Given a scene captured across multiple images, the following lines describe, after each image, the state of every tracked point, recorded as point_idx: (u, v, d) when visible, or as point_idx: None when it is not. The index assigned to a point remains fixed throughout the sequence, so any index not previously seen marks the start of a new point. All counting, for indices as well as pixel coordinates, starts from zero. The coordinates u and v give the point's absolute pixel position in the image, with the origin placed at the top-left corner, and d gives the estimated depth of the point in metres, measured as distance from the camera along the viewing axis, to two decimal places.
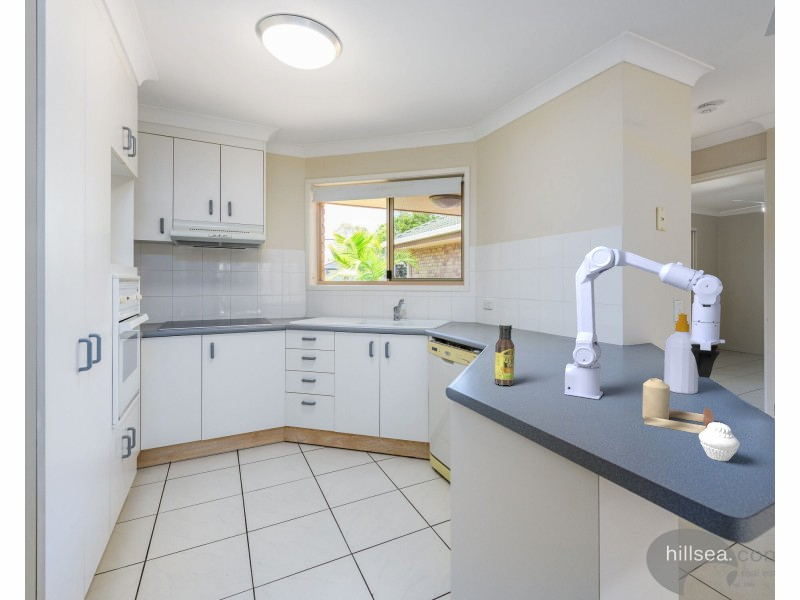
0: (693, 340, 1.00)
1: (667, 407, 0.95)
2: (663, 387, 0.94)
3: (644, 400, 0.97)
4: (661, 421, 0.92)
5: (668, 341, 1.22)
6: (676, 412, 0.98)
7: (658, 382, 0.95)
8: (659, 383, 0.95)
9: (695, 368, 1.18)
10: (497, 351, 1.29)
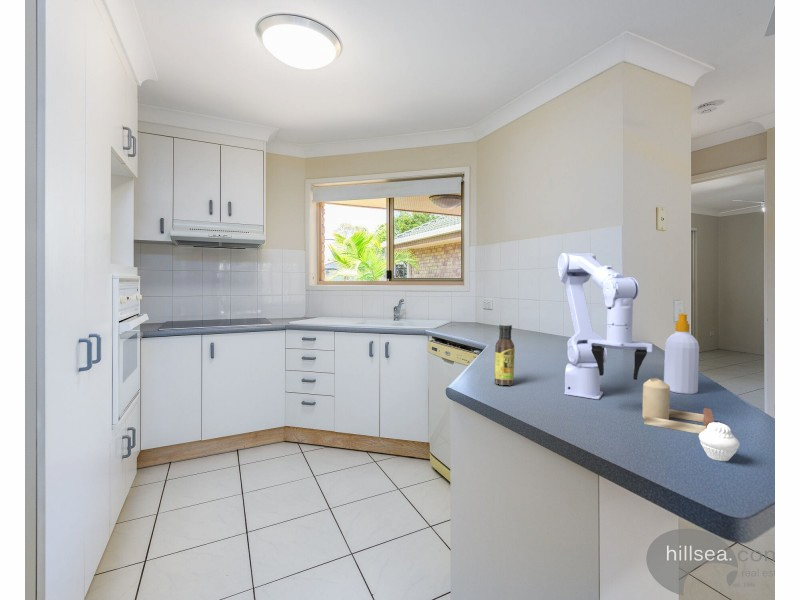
0: None
1: (667, 407, 0.95)
2: (663, 387, 0.94)
3: (644, 400, 0.97)
4: (661, 421, 0.92)
5: (668, 341, 1.22)
6: (676, 412, 0.98)
7: (658, 382, 0.95)
8: (659, 383, 0.95)
9: (695, 368, 1.18)
10: (497, 351, 1.29)
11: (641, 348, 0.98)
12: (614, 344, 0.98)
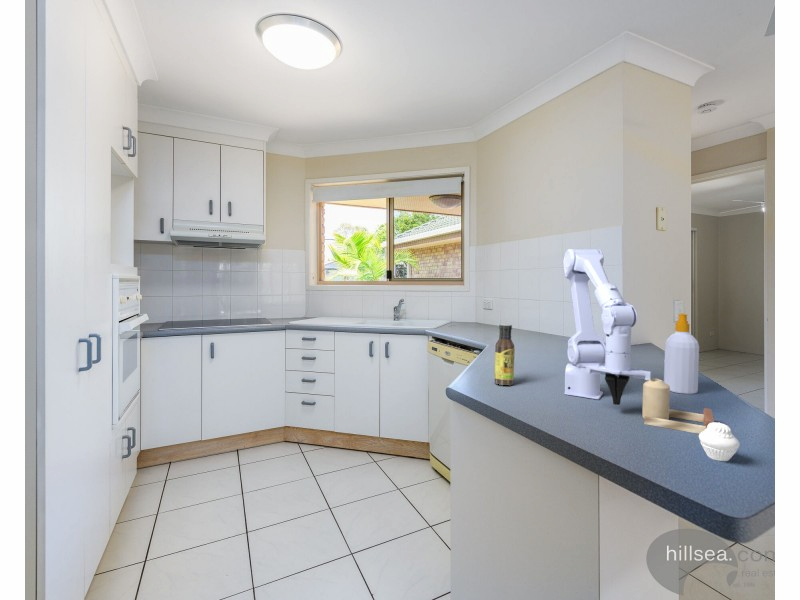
0: None
1: (667, 407, 0.95)
2: (663, 387, 0.94)
3: (644, 400, 0.97)
4: (661, 421, 0.92)
5: (668, 341, 1.22)
6: (676, 412, 0.98)
7: (658, 382, 0.95)
8: (659, 383, 0.95)
9: (695, 368, 1.18)
10: (497, 351, 1.29)
11: (639, 376, 0.98)
12: (612, 372, 0.99)
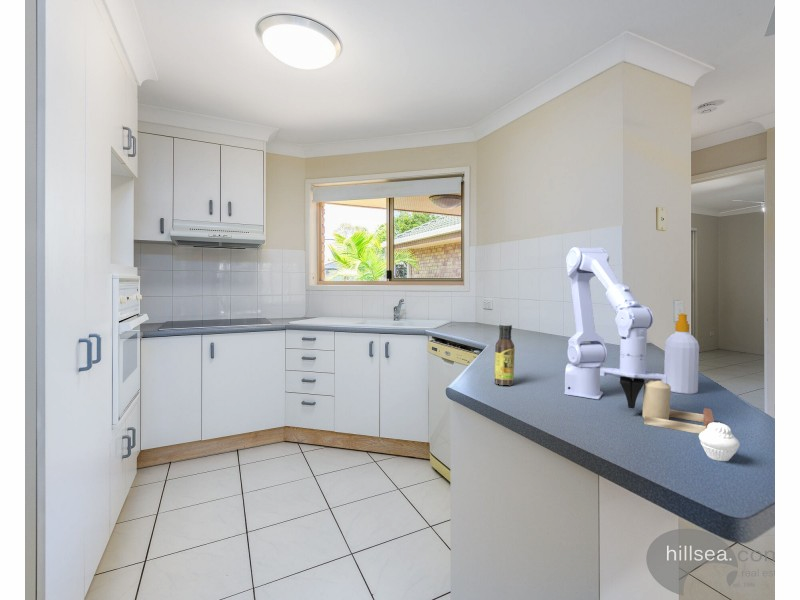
0: None
1: (667, 407, 0.95)
2: (664, 387, 0.94)
3: (645, 400, 0.97)
4: (661, 421, 0.92)
5: (668, 341, 1.22)
6: (676, 412, 0.98)
7: (659, 382, 0.95)
8: (660, 383, 0.95)
9: (695, 368, 1.18)
10: (497, 351, 1.29)
11: (655, 379, 0.96)
12: (628, 375, 0.97)
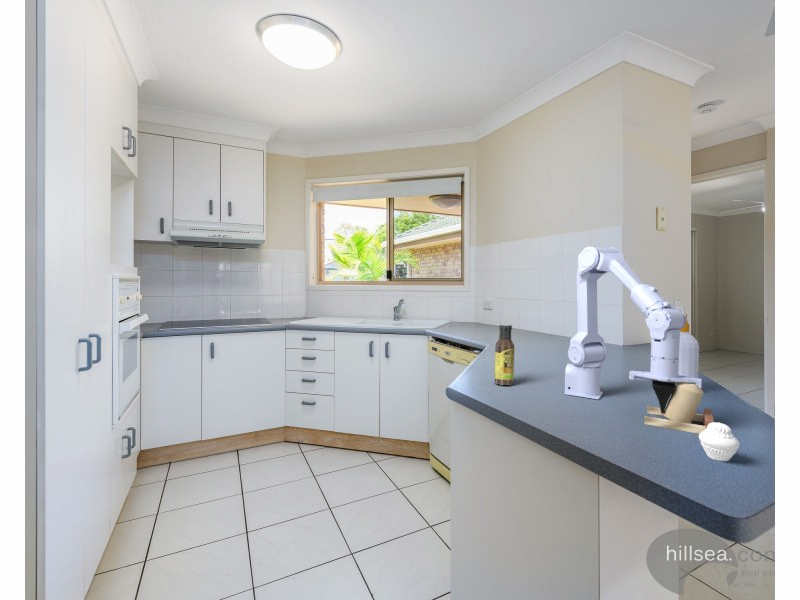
0: None
1: (694, 411, 0.92)
2: (698, 392, 0.90)
3: (672, 399, 0.94)
4: (661, 421, 0.92)
5: None
6: None
7: (694, 385, 0.91)
8: (695, 387, 0.91)
9: (695, 368, 1.18)
10: (497, 351, 1.29)
11: (689, 383, 0.93)
12: (660, 379, 0.93)
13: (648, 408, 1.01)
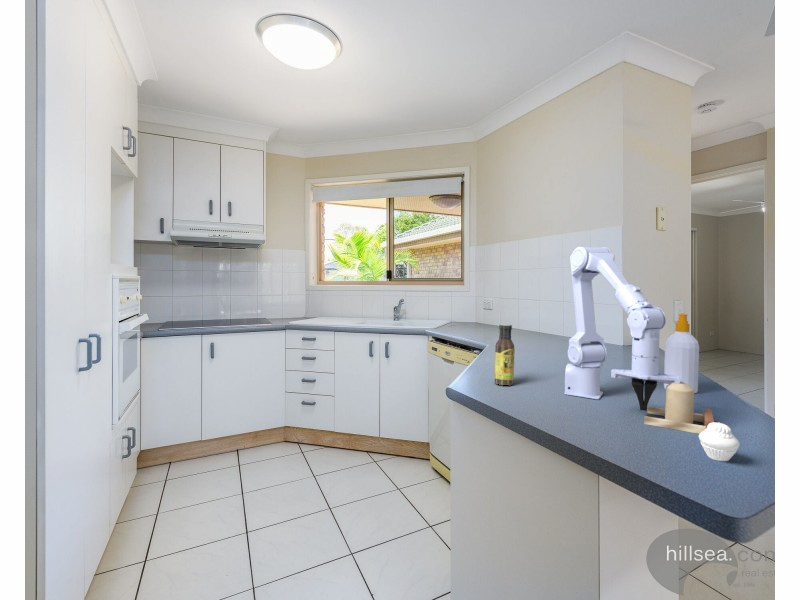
0: None
1: (691, 411, 0.92)
2: (687, 390, 0.91)
3: (667, 404, 0.94)
4: (661, 421, 0.92)
5: (668, 341, 1.22)
6: None
7: (682, 385, 0.92)
8: (683, 386, 0.92)
9: (695, 368, 1.18)
10: (497, 351, 1.29)
11: (668, 381, 0.95)
12: (640, 377, 0.95)
13: (648, 408, 1.01)
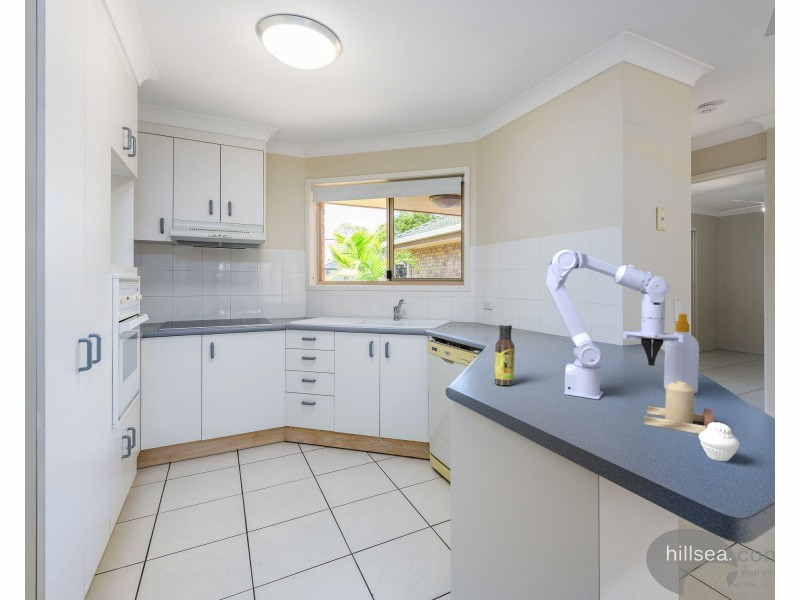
0: None
1: (691, 411, 0.92)
2: (687, 390, 0.91)
3: (667, 404, 0.94)
4: (661, 421, 0.92)
5: (668, 341, 1.22)
6: None
7: (682, 385, 0.92)
8: (683, 386, 0.92)
9: (695, 368, 1.18)
10: (497, 351, 1.29)
11: (673, 339, 1.10)
12: (649, 335, 1.10)
13: (648, 408, 1.01)
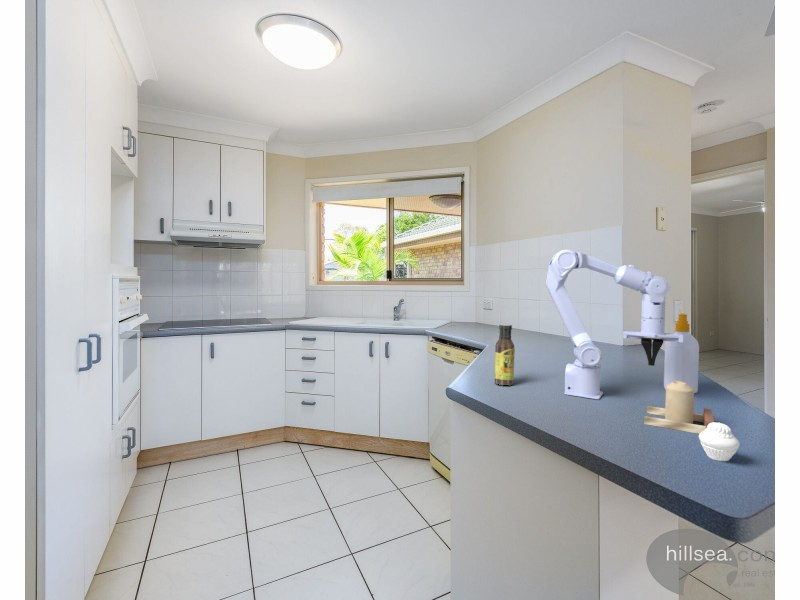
0: None
1: (691, 411, 0.92)
2: (687, 390, 0.91)
3: (667, 404, 0.94)
4: (661, 421, 0.92)
5: (668, 341, 1.22)
6: None
7: (682, 385, 0.92)
8: (683, 386, 0.92)
9: (695, 368, 1.18)
10: (497, 351, 1.29)
11: (673, 339, 1.10)
12: (649, 335, 1.10)
13: (648, 408, 1.01)
